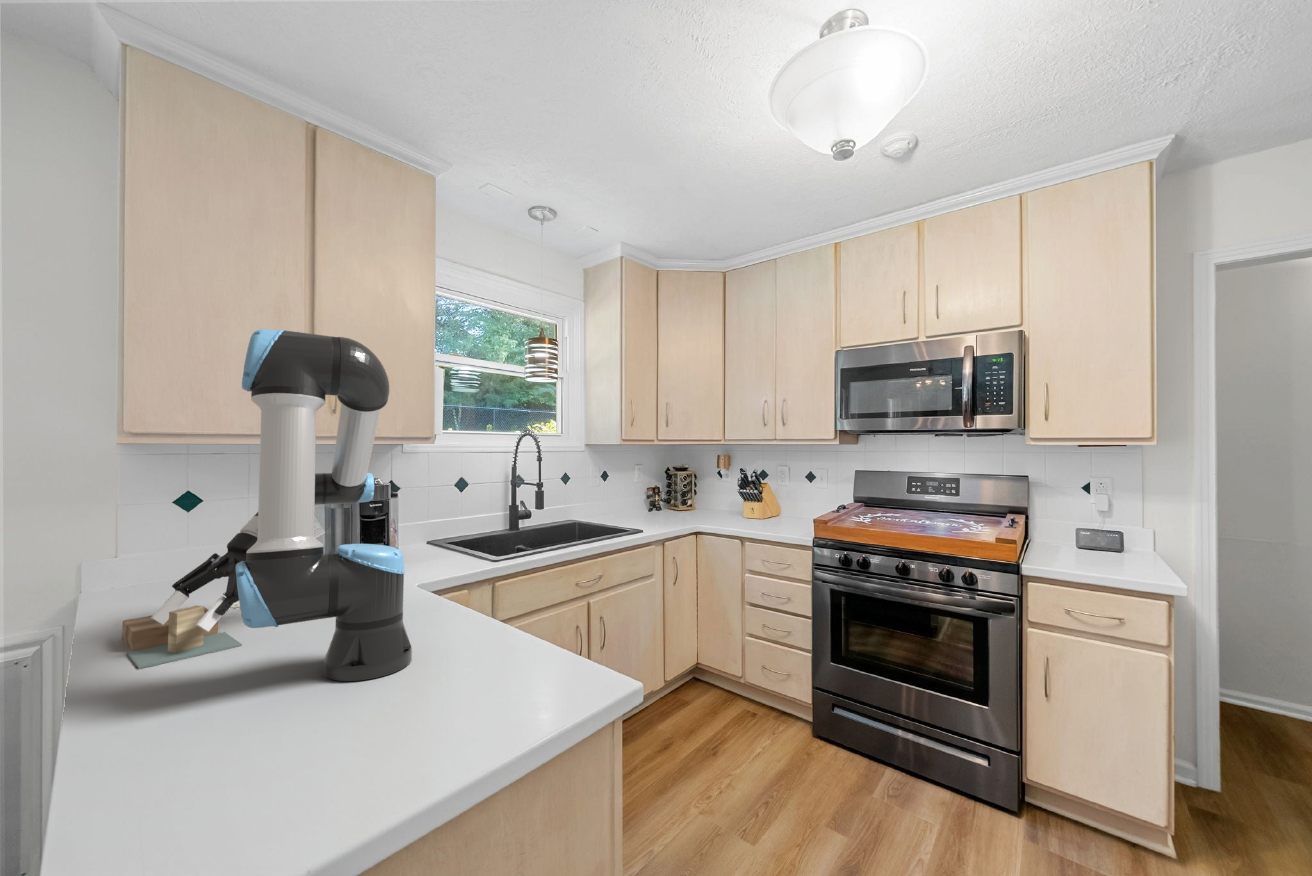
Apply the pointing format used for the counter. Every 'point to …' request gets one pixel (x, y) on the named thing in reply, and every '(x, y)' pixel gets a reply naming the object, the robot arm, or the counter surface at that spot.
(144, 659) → the rubber mat
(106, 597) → the counter surface
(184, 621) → the birch block
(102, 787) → the counter surface
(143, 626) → the walnut block
